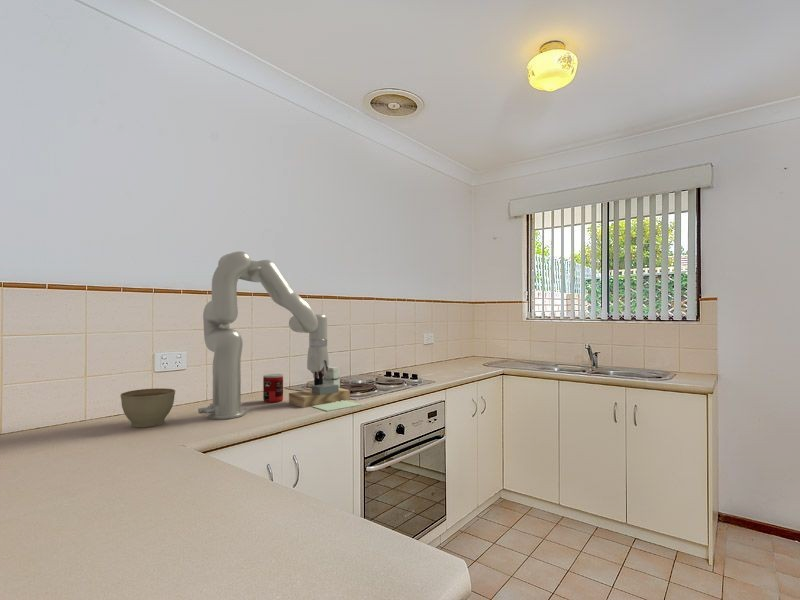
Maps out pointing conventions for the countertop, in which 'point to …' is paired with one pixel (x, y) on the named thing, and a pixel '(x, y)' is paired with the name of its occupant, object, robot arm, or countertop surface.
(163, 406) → the planter bowl
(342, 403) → the sage mat
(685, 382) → the countertop surface
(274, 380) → the canned food
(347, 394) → the oak block
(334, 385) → the gray rectangular block
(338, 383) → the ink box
